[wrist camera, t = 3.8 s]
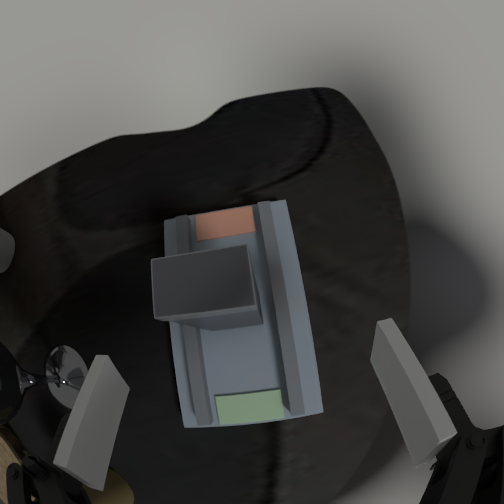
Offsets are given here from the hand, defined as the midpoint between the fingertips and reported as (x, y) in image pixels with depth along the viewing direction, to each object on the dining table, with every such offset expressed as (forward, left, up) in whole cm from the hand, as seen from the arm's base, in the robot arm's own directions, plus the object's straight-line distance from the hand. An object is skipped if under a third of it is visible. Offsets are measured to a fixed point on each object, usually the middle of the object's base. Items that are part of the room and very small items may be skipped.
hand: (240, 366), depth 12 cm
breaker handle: (-3, +2, -8) cm, 9 cm away
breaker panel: (-3, +2, -10) cm, 11 cm away
